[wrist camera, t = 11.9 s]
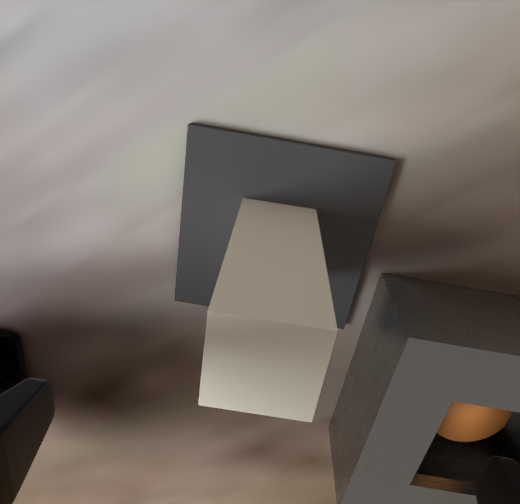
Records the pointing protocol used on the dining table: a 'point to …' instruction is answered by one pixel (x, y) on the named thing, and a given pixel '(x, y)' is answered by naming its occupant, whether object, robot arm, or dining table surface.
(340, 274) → the mat
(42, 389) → the robot arm
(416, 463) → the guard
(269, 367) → the cream rectangular prism
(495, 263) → the dining table surface
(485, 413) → the orange rounded piece
